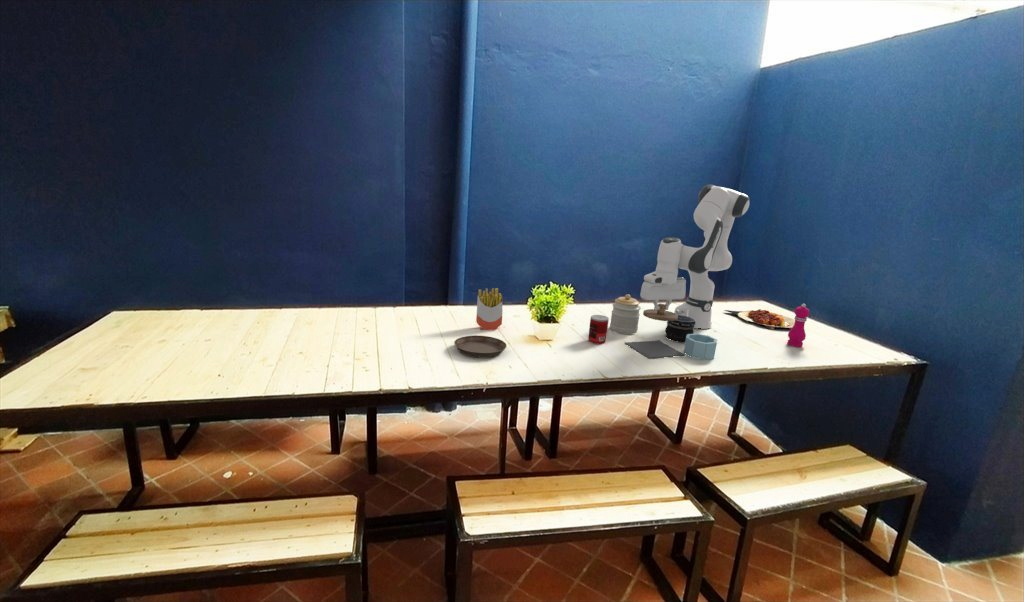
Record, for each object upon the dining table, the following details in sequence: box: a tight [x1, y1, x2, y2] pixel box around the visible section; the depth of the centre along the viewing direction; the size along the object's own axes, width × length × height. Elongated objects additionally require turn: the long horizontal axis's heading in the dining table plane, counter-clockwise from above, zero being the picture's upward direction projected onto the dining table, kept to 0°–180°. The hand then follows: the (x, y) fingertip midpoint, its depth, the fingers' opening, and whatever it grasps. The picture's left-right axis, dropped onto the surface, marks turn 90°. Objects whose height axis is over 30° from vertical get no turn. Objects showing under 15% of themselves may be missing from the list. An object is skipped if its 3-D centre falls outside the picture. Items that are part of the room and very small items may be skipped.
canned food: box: [587, 314, 610, 345], centre depth 225 cm, size 8×8×11 cm
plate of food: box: [723, 308, 795, 331], centre depth 277 cm, size 31×35×7 cm
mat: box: [624, 339, 686, 360], centre depth 221 cm, size 18×18×1 cm
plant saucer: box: [453, 334, 508, 359], centre depth 206 cm, size 21×21×3 cm
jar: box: [609, 293, 642, 335], centre depth 243 cm, size 13×13×18 cm
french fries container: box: [475, 287, 503, 331], centre depth 231 cm, size 5×11×18 cm, turn 106°
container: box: [664, 315, 696, 343], centre depth 237 cm, size 13×13×10 cm
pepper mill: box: [787, 303, 811, 348], centre depth 239 cm, size 7×7×20 cm
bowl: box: [683, 333, 718, 360], centre depth 219 cm, size 12×12×7 cm
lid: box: [642, 303, 678, 322], centre depth 216 cm, size 14×14×5 cm
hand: (661, 309), depth 216 cm, fingers closed on lid, 3 cm apart
